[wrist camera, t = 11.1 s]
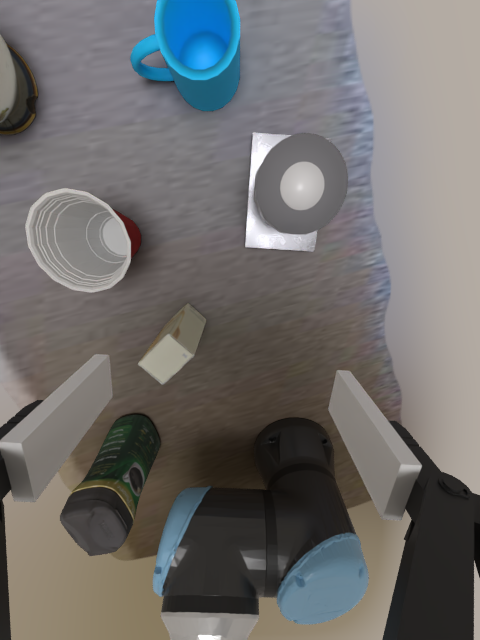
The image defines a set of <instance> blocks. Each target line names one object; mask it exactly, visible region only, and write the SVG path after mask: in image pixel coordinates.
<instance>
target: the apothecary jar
mask: <svg viewBox="0 0 480 640" xmlns="http://www.w3.org/2000/svg"><path fill="white" fill-rule="evenodd" d="M37 97H38V92H37V86H36V83H35V79H34V76H33V74H32V72H31V71H30V69H29V67H28V65H27V64H26V62H25V61H24V60H23V58H22V57H21V56H20V55H19V54H18V53H17V52H16V51H15V50H14V49H13V48H12V47H10V46H9V45H7V44H6V43H5V41H4V39H3V37H2V36H1V34H0V134H5V135H11V134H16V133H19V132H22V131H23V130H25V129H26V128H27V127H28V126H29V125H30V124H31V123H32V121H33V120H34V118H35V115H36V112H35V106H34V101H35V99H36V98H37Z"/></svg>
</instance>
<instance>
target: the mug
mask: <svg viewBox="0 0 480 640" xmlns="http://www.w3.org/2000/svg"><path fill="white" fill-rule="evenodd" d="M154 21H155V34H154V35H151V36H149V37H147V38H145V39H143V40H141V41H140V42H139V43H138V44H137V45H136V46H135V47H134V48H133V51H132V53H131V57H130V58H131V63H132V66H133V69H134V70H135V71H136V72H137V73H138V74H139V75H140V76H142V77H145V78H147V79H150V80H156V81H174V82H175V84H176V86H177V88H178V90H179V92H180V93H181V95H182V96H183V98H184V99H185V100H186V101H187V102H188V103H189V104H190V105H191V106H193V107H194V108H197V109H199V110H202V111H214V110H217V109H220V108H222V107H223V106H225V105H226V104H227V103H228V102H229V101H230V100H231V99H232V97H233V95H234V94H235V92H236V90H237V87H238V83H239V79H240V16H239V12H238V8H237V4H236V1H235V0H157V5H156V10H155V16H154ZM159 50H160V51H161V53H162V55H163V58H164V60H165V62H166V64H167V66H168V68H156V67H150V66H147V65H145V64H143V63H141V60H142V59H144V58H145V57H146V56H147V55H149V54H151V53H154V52H156V51H159Z"/></svg>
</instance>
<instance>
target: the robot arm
mask: <svg viewBox="0 0 480 640" xmlns="http://www.w3.org/2000/svg"><path fill="white" fill-rule="evenodd" d="M112 397H113V393H112V381H111V370H110V359H109V355H101V354H95V355H94V356H93V357H92V358H91V359H90V360H88V361H87V362H86V363H85V364H84V365H83V366H82V367H81V368H80V369H78V370H77V371H76V372H75V373H74V374H73V375H72V376H71V377H70V378H68V379H67V380H66V381H65V382H64V383H63V384H62V385H61V386H60V387H58V388H57V389H56V390H55V391H54V392H53V393H52V394H51V395H50V396H49V397H47V398H46V399H45V400H37V401H35V402H33V403H31V404H29V405H27V406H25V407H24V408H23V409H22V410H20V411H19V412H18V413H17V414H16V415H15V417H12V418H11V419H10V420H9V421H8V422H7V424H4V425H3V426H2V427H1V428H0V640H11V630H10V613H9V593H8V575H7V574H8V573H7V556H6V536H5V517H4V505H3V501H2V499H3V498H4V497H5V495H6V494H7V493H8V492H9V491H10V490H11V492H12V496H13V500H14V501H22V502H23V501H24V502H36V500H37V499H38V497H39V496H40V495H41V493H42V492H43V491H44V489H45V488H46V486H47V485H48V484H49V482H50V481H51V479H52V478H53V477H54V476H55V474H56V473H57V472H58V470H59V469H60V468H61V466H62V465H63V463H64V462H65V461H66V459H67V458H68V457H69V455H70V454H71V453H72V451H73V450H74V448H75V447H76V446H77V444H78V443H79V442H80V440H81V439H82V438H83V436H84V435H85V433H86V432H87V431H88V429H89V428H90V427H91V425H92V424H93V423H94V421H95V420H96V419H97V417H98V416H99V414H100V413H101V412H102V410H103V409H104V408H105V406H106V405H107V404H108V402H109V401H110V399H111V398H112ZM328 410H329V412H330V414H331V416H332V418H333V420H334V422H335V425H336V427H337V429H338V431H339V433H340V435H341V437H342V439H343V441H344V443H345V445H346V447H347V449H348V451H349V453H350V455H351V457H352V459H353V461H354V463H355V466H356V468H357V470H358V472H359V474H360V476H361V478H362V480H363V482H364V484H365V486H366V488H367V490H368V492H369V494H370V496H371V498H372V500H373V502H374V504H375V506H376V509H377V511H378V513H379V515H380V517H381V519H386V520H401V519H402V517H403V514H404V512H405V509H406V510H407V512H408V514H409V515H410V517H411V519H412V520H411V523H410V525H409V528H408V530H407V533H406V535H405V538H404V540H406V542H405V546H404V551H403V555H402V559H401V563H400V567H399V572H398V576H397V580H396V584H395V589H394V593H393V597H392V602H391V606H390V610H389V614H388V618H387V623H386V627H385V631H384V635H383V640H474V636H473V635H474V560H475V563H476V567H477V571H478V574H479V577H480V495H477V494H474V493H472V492H471V491H470V489H469V488H468V487H467V486H466V485H465V484H464V483H462V482H461V481H460V480H458V479H457V478H455V477H453V476H452V475H449V474H446V473H444V472H441V471H440V470H439V469H438V467H437V466H436V465H435V464H434V462H433V461H432V460H431V459H430V458H429V456H428V455H427V454H426V453H425V452H424V450H423V449H422V448H421V447H419V444H418V443H417V442H416V441H415V440H414V439H413V437H412V436H411V435H410V433H409V432H408V431H407V430H406V429H405V428H404V427H403V426H401V425H400V424H399V423H397V422H396V421H388V420H387V419H386V418H385V416H384V415H383V414H382V412H381V411H380V410H379V409H378V407H377V406H376V405H375V403H374V402H373V401H372V399H371V398H370V397H369V395H368V394H367V393H366V392H365V390H364V389H363V388H362V386H361V385H360V384H359V382H358V381H357V380H356V378H355V377H354V376H353V375H352V373H351V372H350V371H343V370H337V372H336V376H335V381H334V385H333V390H332V394H331V399H330V404H329V408H328ZM254 460H255V465H256V468H257V470H258V472H259V474H260V476H261V479H262V481H263V483H264V485H265V487H266V489H267V490H261V489H237V488H213V486H208V487H198V488H186V489H184V490H183V491H182V492H180V493H179V495H178V496H177V498H176V499H175V501H174V503H173V505H172V507H171V510H170V512H169V515H168V518H167V521H166V524H165V527H164V530H163V534H162V537H161V541H160V545H159V549H158V553H157V558H156V567H155V571H154V576H153V590H154V592H155V593H156V594H158V595H159V596H160V597H161V596H164V599H163V606H162V611H161V618H162V620H163V622H164V624H165V626H166V628H167V630H168V632H169V635H170V640H247V639H248V636H249V634H250V632H251V631H252V629H253V628H254V626H255V624H256V623H257V621H258V620H259V603H258V602H259V597H275V598H277V604H278V607H279V608H280V611H281V613H282V614H283V616H284V617H285V618H286V619H288V620H290V621H292V620H293V621H294V622H295V623H297V624H317V623H322V622H326V621H329V620H332V619H335V618H337V617H339V616H341V615H343V614H344V613H346V612H347V611H349V610H351V609H352V608H353V607H354V606H355V605H356V604H357V603H358V602H359V601H360V600H361V599H362V597H363V595H364V594H365V592H366V589H367V586H368V579H369V577H368V569H367V566H366V563H365V559H364V556H363V553H362V550H361V544H360V540H359V538H358V536H357V535H356V533H355V530H354V527H353V525H352V522H351V520H350V517H349V514H348V512H347V509H346V506H345V504H344V501H343V499H342V496H341V493H340V491H339V488H338V486H337V483H336V480H335V477H334V449H333V445H332V443H331V440H330V438H329V436H328V434H327V432H326V431H325V430H324V429H323V428H322V427H321V426H320V425H318V424H317V423H315V422H313V421H310V420H307V419H302V418H288V419H283V420H279V421H277V422H274V423H272V424H270V425H269V426H267V427H266V428H265V429H264V430H263V431H262V432H261V433H260V434H259V436H258V437H257V439H256V441H255V445H254Z"/></svg>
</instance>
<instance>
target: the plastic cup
mask: <svg viewBox="0 0 480 640" xmlns="http://www.w3.org/2000/svg"><path fill="white" fill-rule="evenodd" d="M25 227H26V234H27V241H28V247H29V248H30V250H31V252H32V254H33V256H34V258H35V260H36V261H37V263H38V265H39V266H40V267H41V268H42V269H43V270H44V271H45V272H46V273H47V274H48V275H49V276H50V277H51V278H52V279H53V280H54V281H56V282H58V283H60V284H62V285H64V286H66V287H68V288H70V289H72V290H78V291H85V292H92V293H93V292H97V291H101V290H105V289H110V288H111V287H112V286H114V285H115V284H116V283H117V282H119V281H120V280H121V279H122V278H123V277H124V275H125V273H126V271H127V269H128V267H129V264H130V262H131V258H132V257H133V256H134V254H135V253H136V252H137V251H138V249H139V247H140V245H141V234H140V231H139V228H138V227H137V226H136V224H135V223H134V222H133V221H132V220H131V219H129V218H128V217H126V216H124V215H122V214H121V213H119V212H117V211H115V210H113V209H112V208H111V207H110V206H109V205H108V204H106V203H105V202H103V201H101V200H100V199H98V198H96V197H95V196H93V195H91V194H90V193H88V192H84V191H79V190H73V189H67V188H63V189H59V190H56V191H52V192H48V193H45V194H44V195H43V196H42V197H41V198H40V199H39V200H38V201H36V202H35V203H34V204H33V205H32V206H31V208H30V212H29V215H28V218H27V222H26V225H25Z"/></svg>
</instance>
